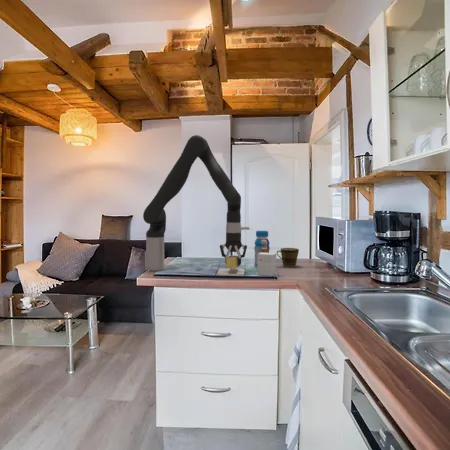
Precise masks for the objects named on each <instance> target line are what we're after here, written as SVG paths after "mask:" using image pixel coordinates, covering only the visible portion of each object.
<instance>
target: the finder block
mask: <svg viewBox="0 0 450 450" xmlns="http://www.w3.org/2000/svg"><path fill="white" fill-rule="evenodd" d="M238 258H239V257H238V255H233V254H231V255H229V256H228V257H227V258H226V259H225V260H226V263H225V267H226V268H225V269H238V267H240V266H238Z"/></svg>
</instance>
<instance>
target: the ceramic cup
mask: <svg viewBox="0 0 450 450" xmlns="http://www.w3.org/2000/svg"><path fill="white" fill-rule="evenodd" d="M299 251H300V249H299V248H297V247H296V248H295V247H281V248H280V250H277V251H276V256H278V257H279V258H280V260H282V267H283V268H286V269H287V268H289V269H290V268H291V269H292V268H296V266H297V263H298V262H297V260H298V255H299ZM279 252H280V255H279V254H278V253H279Z"/></svg>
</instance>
